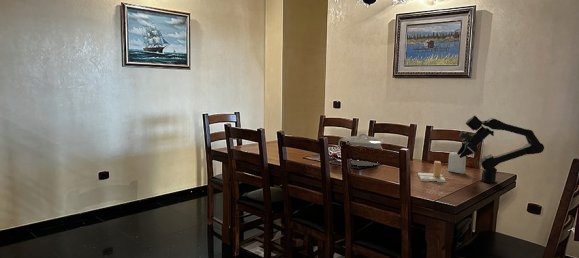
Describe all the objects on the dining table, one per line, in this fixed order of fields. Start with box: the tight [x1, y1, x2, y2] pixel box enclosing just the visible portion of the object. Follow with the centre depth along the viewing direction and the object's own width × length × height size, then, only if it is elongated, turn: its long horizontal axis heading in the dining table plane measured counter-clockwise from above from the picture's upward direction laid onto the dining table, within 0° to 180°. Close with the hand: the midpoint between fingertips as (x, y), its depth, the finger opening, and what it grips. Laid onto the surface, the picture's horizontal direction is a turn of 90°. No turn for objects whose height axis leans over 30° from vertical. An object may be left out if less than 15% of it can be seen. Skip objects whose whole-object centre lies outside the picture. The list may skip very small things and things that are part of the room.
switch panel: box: [417, 172, 446, 183], centre depth 230 cm, size 13×14×2 cm
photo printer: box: [447, 151, 467, 175], centre depth 246 cm, size 10×4×12 cm, turn 39°
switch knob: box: [432, 160, 442, 177], centre depth 228 cm, size 3×4×9 cm, turn 170°
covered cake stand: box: [338, 133, 386, 167], centre depth 261 cm, size 28×28×21 cm
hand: (458, 155), depth 227 cm, fingers open, 9 cm apart
